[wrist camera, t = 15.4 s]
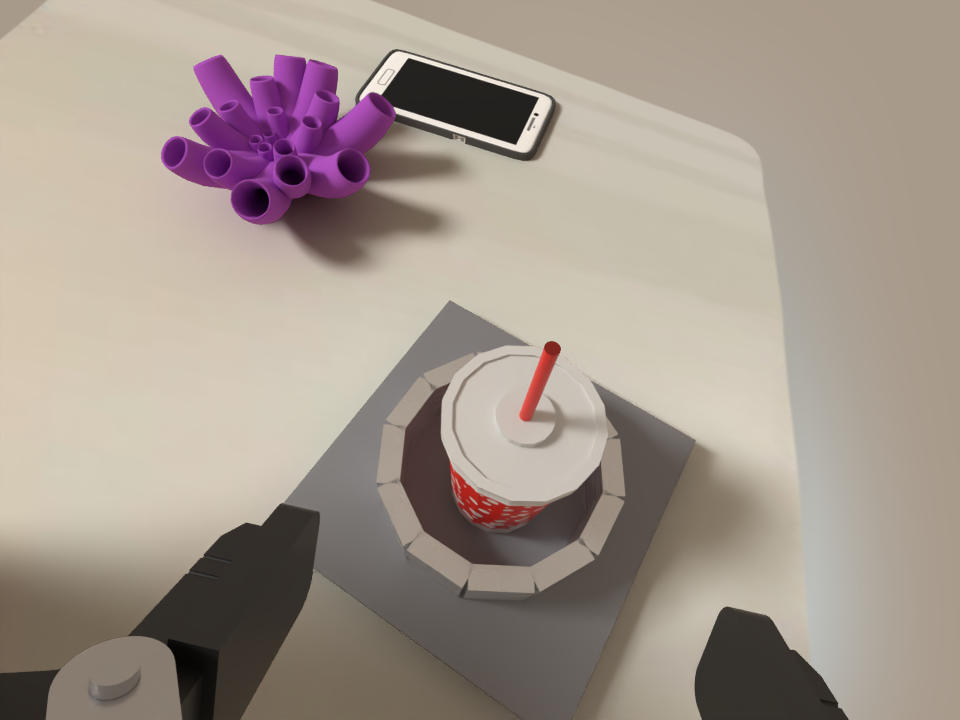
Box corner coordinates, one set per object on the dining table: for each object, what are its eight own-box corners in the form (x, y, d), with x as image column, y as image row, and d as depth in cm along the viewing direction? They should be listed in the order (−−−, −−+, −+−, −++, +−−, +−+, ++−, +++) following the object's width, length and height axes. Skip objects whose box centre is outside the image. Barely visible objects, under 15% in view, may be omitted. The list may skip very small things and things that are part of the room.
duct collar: (338, 514, 26) (326, 495, 23) (462, 350, 31) (465, 316, 28) (536, 651, 24) (552, 650, 21) (635, 452, 29) (660, 428, 26)
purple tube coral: (341, 150, 45) (409, 71, 39) (300, 299, 38) (375, 232, 31) (199, 56, 39) (252, -57, 32) (117, 214, 31) (164, 108, 25)
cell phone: (392, 57, 47) (391, 46, 46) (556, 107, 45) (559, 96, 44) (352, 111, 43) (350, 100, 42) (529, 167, 42) (531, 157, 41)
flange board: (269, 536, 27) (261, 530, 26) (448, 313, 34) (449, 300, 33) (552, 741, 24) (559, 746, 23) (684, 449, 31) (695, 440, 30)
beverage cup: (511, 409, 30) (569, 234, 18) (581, 504, 28) (704, 380, 15) (413, 468, 28) (402, 316, 15) (481, 576, 26) (530, 498, 13)
